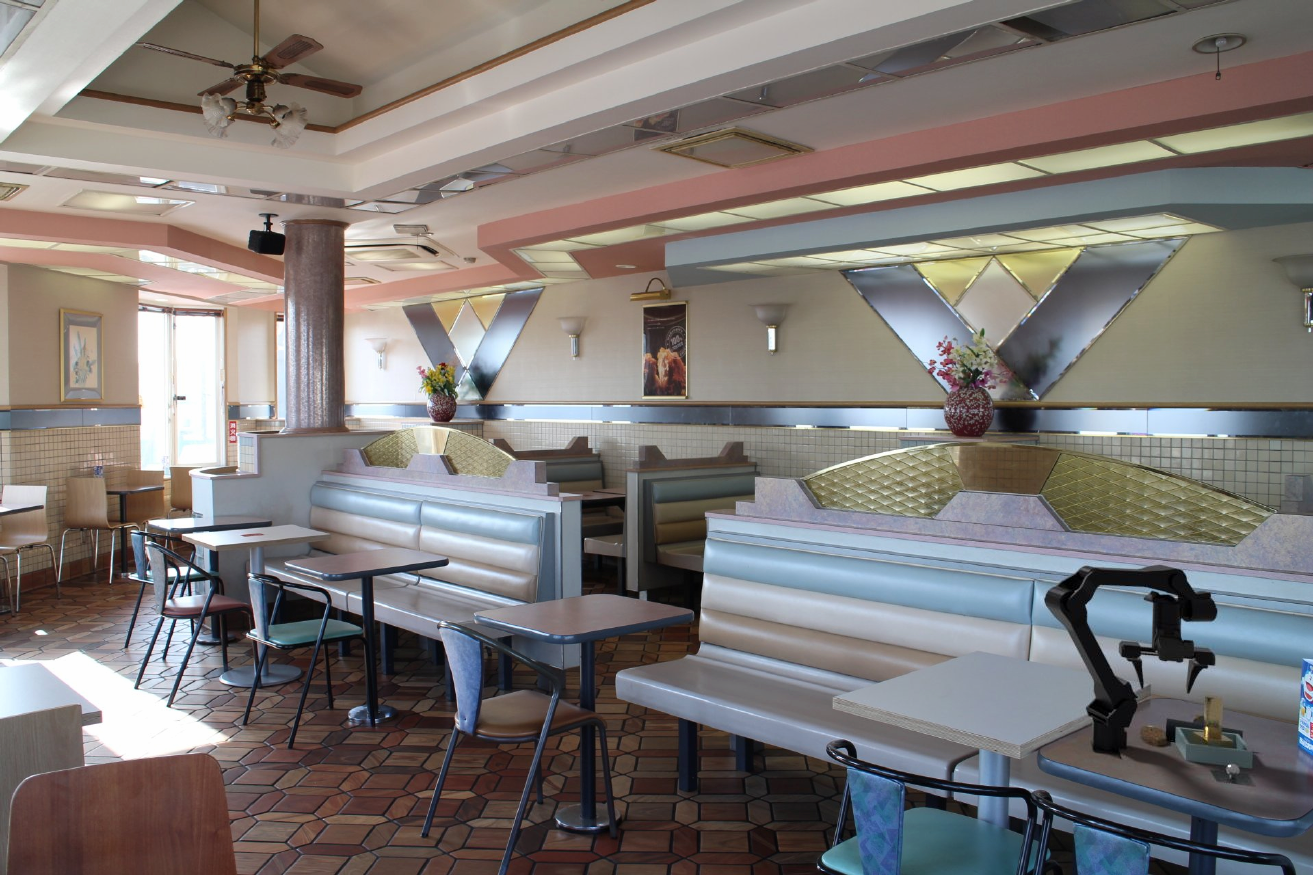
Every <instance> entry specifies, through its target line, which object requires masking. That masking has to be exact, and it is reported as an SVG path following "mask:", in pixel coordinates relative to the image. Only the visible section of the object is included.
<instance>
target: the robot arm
mask: <svg viewBox="0 0 1313 875" xmlns="http://www.w3.org/2000/svg"><path fill="white" fill-rule="evenodd" d="M1100 586H1109V587H1110V586H1112V587H1113V586H1114V587H1135V588H1136V587H1137V588H1147V589H1151V591H1150V592H1149V593H1148V594H1147V595H1145V596H1143V601H1145V602H1150V603H1152V619H1151V620H1152V621H1151V622H1152V626H1151V646H1143V645H1142V646H1141V644H1140V643H1139V641H1129V640H1121V641H1120V642H1119V643H1118V653H1119V655H1120V657H1122V658H1124V659H1125V660H1126V661H1127V662H1130V663H1131V664H1132V665H1133V669H1134V670H1135V674H1136V677H1137V680H1138V683H1139V687H1140V688H1141V690H1144V688H1145V686H1144V685H1145V684H1144V681H1145V680H1144V674H1143V660H1142V658H1141V656H1152V657H1153V656H1154V657H1157V658H1158V659H1159V661H1162V662H1176V663H1178V664H1180V663H1183V662H1184V659H1185V660H1186V659H1187V660H1188V664H1187V665H1188V666H1187V672H1186V673H1187V674H1186V682H1185V683H1186V685H1185V689H1186V690H1185V691H1186V694H1187V695H1189V694H1190V693H1191V691H1192V688H1193V686H1194V684H1195V681H1196V679H1197V678H1198V675H1199V674H1200V672H1202V671H1203V670H1204V669H1206V670H1207V669H1209V666H1211V667H1212V666H1213V667H1215V666H1216V654H1215V653H1214V652H1213V651H1212V650H1211V649H1210V648H1209V647H1200V646H1195V642H1194V640H1193V639H1192V640H1191V639H1182V638H1183V637H1182V621H1183V622H1186V623H1194V622H1195V623H1200V622H1201V623H1204V622H1205V623H1208V622H1209V623H1212V622H1214V621H1215V620H1216V618H1217V617H1218V616H1217V615H1218V608H1217V605H1216V602H1215V600H1213V598H1212V593H1211V592H1209V591H1204V590H1203V591H1202V590H1200V591H1195V590H1194V588H1193V587H1192V585H1191V584H1190V582H1189V581H1188V577H1187V575H1186V573H1185V571H1184V570H1183V569H1181V568H1176V567H1172V566H1168V565H1164V564H1155V565H1154V564H1153V565H1148V566H1145V567H1142V568H1122V567H1121V568H1120V567H1100V566H1098V567H1097V566H1090V565H1083V566H1081V567H1079V568H1078V569H1077V571H1076V572H1074V573H1073V574H1071V575H1069V576H1067V577H1066V578H1063V579H1062V580H1060V582H1058V583H1057V584H1056V585H1055V586H1052V587H1050V589H1048V590H1047V591H1046V594H1045V596H1044V598H1043V600H1044V605H1045V607H1046V608H1047V609H1048V610H1049V612H1050V613H1051V615H1052V616H1053V617H1054V618H1055V619H1056V620H1057V621H1059V623H1060V624H1061V625H1062V626H1064V628H1065V629H1066V631H1067V632H1068V634H1069V637H1070V638H1071V640H1072V642H1073V643H1074V646H1075V648H1076V649H1077V652H1078V654H1079V656H1080V657H1081V659H1082V661H1083V663H1084V665H1085V666H1086V669H1087V670H1088V672H1089V675H1090V676H1091V678H1092V681H1093V693H1094V696H1095V698H1094V699H1092V701H1090V703H1089V704H1088V705H1086V706H1085V710H1086V714H1087V717H1089V718H1092V719H1091V720H1092V721H1091V740H1090V745H1091V746H1090V747H1091V749H1092V751H1093V752H1097V753H1104V754H1105V753H1106V754H1113V755H1114V754H1115V755H1121V752H1120V750H1127V747H1128V732H1127V730H1126V729H1127V728H1128V729H1129V728H1130V726H1131V724H1132V721H1133V717H1134V715H1136V714H1135V713H1136V711H1137V709H1138V707H1139V704H1138V703H1139V702H1138V701H1137V699H1138V698H1139V696H1138V695H1136V694H1135V692H1134V689H1133V685H1132V683H1130V682H1129V681H1128V680H1125V679H1124V678H1122V677H1119V676H1117V675H1115V673H1114V671H1113V669H1112V667H1111V665H1110V664H1109V662H1108V660H1107V658H1106V656H1105V654H1104V652H1103V650H1102V648H1101V646H1100V643H1099V642H1098V640H1097V638H1096V637H1095V634H1094V632H1093V631H1092V629H1091V627H1090V625H1089V623H1088V609H1087V606H1086V605H1087V604H1088V603H1089V602H1090V601H1091V600H1092V599H1093V597H1094V595H1095V593H1096V591H1097V589H1098V588H1099V587H1100ZM1154 590H1156V591H1154ZM1158 591H1159V592H1164V593H1166V594H1164V593H1162V594H1160V593H1159V592H1158ZM1174 596H1177V597H1174Z"/></svg>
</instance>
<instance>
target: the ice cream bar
mask: <svg viewBox="0 0 1313 875" xmlns="http://www.w3.org/2000/svg"><path fill="white" fill-rule="evenodd" d="M1139 735H1140V736H1139V737H1140V739H1141V741H1142V742H1143V743H1145V744H1147V745H1149V746H1153V747H1160V746H1167V744H1168V740H1167V738H1166V731H1165V730H1163V729H1162V728H1160V727H1155V726H1153V725H1146V726H1142V727H1141V728H1140V733H1139Z"/></svg>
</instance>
